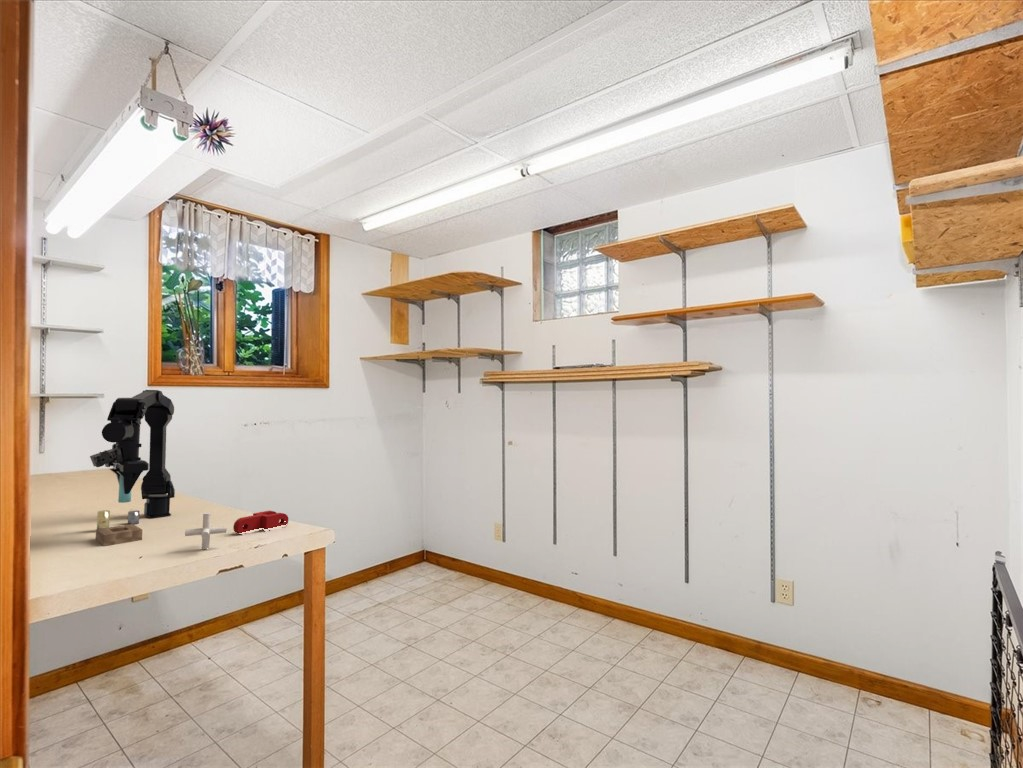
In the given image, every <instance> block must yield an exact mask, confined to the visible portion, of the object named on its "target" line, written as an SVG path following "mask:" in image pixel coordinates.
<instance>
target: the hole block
mask: <svg viewBox="0 0 1023 768" xmlns="http://www.w3.org/2000/svg"><path fill="white" fill-rule="evenodd" d="M142 540H143V529H142V528H141V527H138V526H137V525H136V524H135V525H134V524H130V525H128V524H124V525H117V526H109V528H102V529H97V528H96V529H95V541H96V542H98V543H100V544H101V545H103V547H106V546H112V545H119V544H125V543H130V542H138V541H142Z"/></svg>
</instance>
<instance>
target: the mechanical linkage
mask: <svg viewBox="0 0 1023 768" xmlns="http://www.w3.org/2000/svg"><path fill="white" fill-rule="evenodd" d="M284 521H286V522H284ZM286 524H287V525H288V524H289V517H288V515H287V514H286V513H283V512H276V511H273V510H264V511H258V512H254V513H252V515H248V516H243V517H240V518H238V519H236V520H235V521H234V524H233V531H234V533H235V532H237V533H242V532H246V531H250V530H254V529H259V528H264V529H268V528H273V527H277V526H281V525H286ZM287 525H286V526H287ZM237 533H236V534H237Z"/></svg>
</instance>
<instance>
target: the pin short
mask: <svg viewBox="0 0 1023 768" xmlns="http://www.w3.org/2000/svg"><path fill="white" fill-rule="evenodd" d="M130 524H134V525H135V526H136V525H138V524H140V510H137V509H136V510H129V511H128V512H127V525H130Z"/></svg>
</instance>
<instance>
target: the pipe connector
mask: <svg viewBox="0 0 1023 768" xmlns="http://www.w3.org/2000/svg"><path fill="white" fill-rule="evenodd" d="M211 515H212V513H211V512H210V511H209V512H203V513H202V527H201V528H200V527H199V528H191V529H190V528H188V529H185V531H184V537H191V536H194V537H195V536H201V550H202V549H207V548H209V549H210V543H211V542H210V541H211V540H210V538H211V536H210V535H214V534H216V535H217V534H227V529H228V528H227V526H213V527H211Z"/></svg>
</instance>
